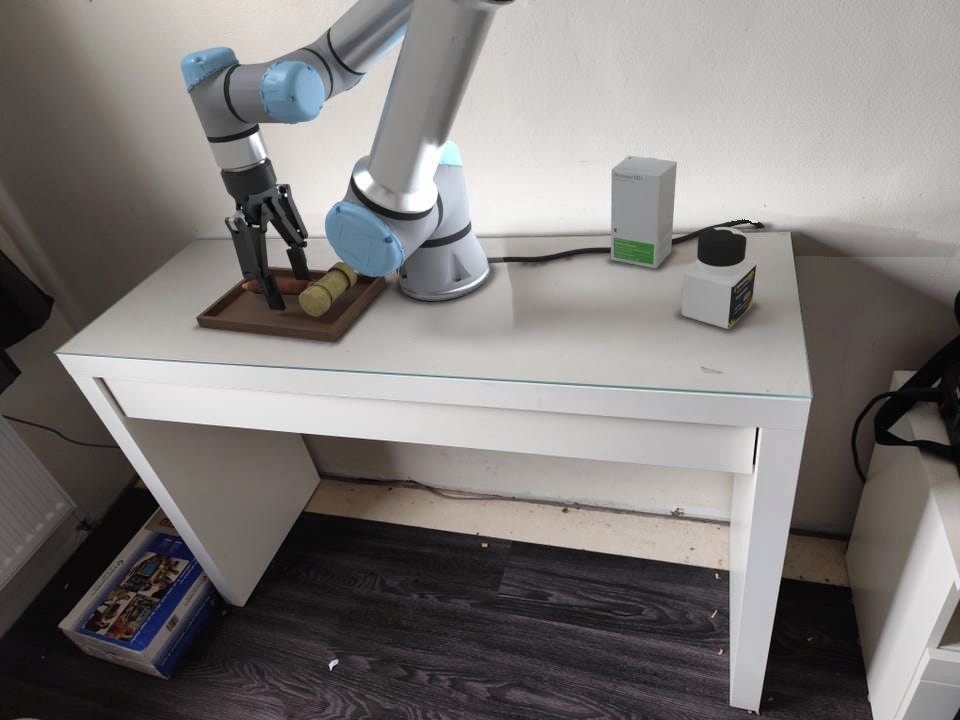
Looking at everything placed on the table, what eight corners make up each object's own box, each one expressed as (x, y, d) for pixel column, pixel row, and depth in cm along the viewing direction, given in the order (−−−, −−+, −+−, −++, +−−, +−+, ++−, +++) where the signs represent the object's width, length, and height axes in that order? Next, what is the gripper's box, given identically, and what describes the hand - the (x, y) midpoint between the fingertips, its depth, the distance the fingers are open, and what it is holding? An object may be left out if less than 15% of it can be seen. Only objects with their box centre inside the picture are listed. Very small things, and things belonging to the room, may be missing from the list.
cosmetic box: (610, 261, 110) (607, 169, 101) (627, 243, 114) (626, 154, 105) (658, 269, 106) (660, 174, 97) (674, 251, 110) (677, 158, 101)
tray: (386, 284, 115) (384, 274, 114) (333, 342, 102) (330, 332, 101) (262, 274, 125) (259, 265, 123) (199, 327, 112) (195, 317, 111)
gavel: (218, 289, 111) (256, 260, 118) (229, 312, 114) (266, 283, 121) (317, 292, 102) (352, 261, 109) (327, 318, 104) (360, 285, 111)
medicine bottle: (728, 330, 90) (736, 250, 83) (680, 316, 95) (683, 239, 88) (752, 306, 94) (761, 227, 87) (705, 293, 98) (710, 217, 91)
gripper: (264, 139, 108) (306, 265, 121) (178, 190, 93) (236, 327, 106) (303, 138, 105) (341, 267, 118) (220, 191, 90) (275, 331, 103)
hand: (292, 295), depth 112 cm, fingers closed on gavel, 7 cm apart
